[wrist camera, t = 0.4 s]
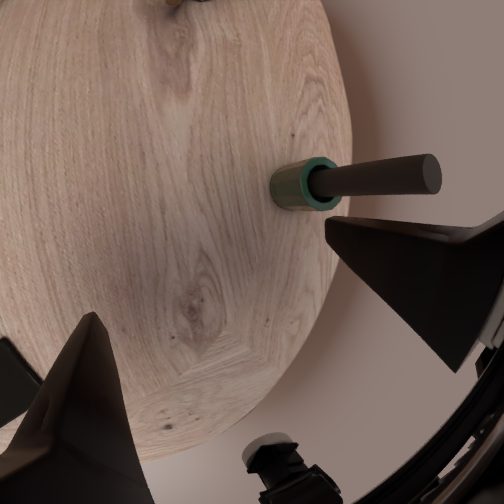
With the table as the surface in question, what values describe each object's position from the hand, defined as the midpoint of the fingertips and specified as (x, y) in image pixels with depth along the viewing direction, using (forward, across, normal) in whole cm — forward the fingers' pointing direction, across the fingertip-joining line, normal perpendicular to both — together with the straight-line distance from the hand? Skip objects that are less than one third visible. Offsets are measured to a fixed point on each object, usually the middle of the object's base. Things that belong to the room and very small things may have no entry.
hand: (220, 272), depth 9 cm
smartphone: (+10, +25, +10) cm, 29 cm away
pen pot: (+12, -11, +3) cm, 17 cm away
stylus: (+12, -11, +3) cm, 16 cm away
